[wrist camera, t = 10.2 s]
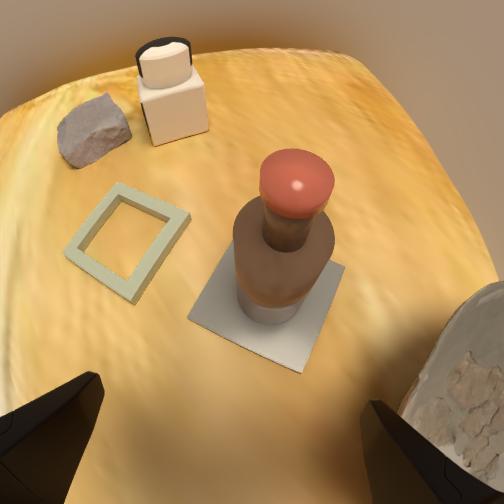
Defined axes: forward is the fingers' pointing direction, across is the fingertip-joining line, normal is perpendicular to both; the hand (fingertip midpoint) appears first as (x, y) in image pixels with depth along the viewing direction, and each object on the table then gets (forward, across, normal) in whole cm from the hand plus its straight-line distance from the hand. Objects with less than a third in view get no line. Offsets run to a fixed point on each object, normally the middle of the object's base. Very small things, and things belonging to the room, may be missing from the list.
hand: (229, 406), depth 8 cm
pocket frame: (+18, +12, +1) cm, 22 cm away
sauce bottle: (+15, -2, +3) cm, 16 cm away
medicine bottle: (+31, +11, -11) cm, 35 cm away
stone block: (+30, +24, -10) cm, 39 cm away
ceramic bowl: (+7, -19, +13) cm, 24 cm away
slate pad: (+16, -2, +4) cm, 16 cm away
